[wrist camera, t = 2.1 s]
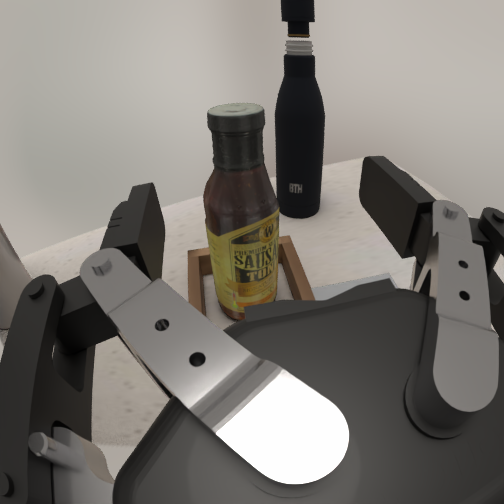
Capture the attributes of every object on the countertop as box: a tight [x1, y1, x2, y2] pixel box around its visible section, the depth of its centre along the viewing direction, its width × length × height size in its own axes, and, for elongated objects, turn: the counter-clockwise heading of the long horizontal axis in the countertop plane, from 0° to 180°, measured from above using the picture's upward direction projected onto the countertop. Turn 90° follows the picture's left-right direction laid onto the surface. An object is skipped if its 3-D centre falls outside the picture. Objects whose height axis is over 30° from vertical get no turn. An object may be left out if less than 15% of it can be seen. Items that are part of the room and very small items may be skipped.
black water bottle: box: [275, 0, 325, 218], centre depth 35 cm, size 6×6×30 cm
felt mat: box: [311, 273, 398, 300], centre depth 30 cm, size 10×9×1 cm
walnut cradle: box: [188, 236, 315, 317], centre depth 32 cm, size 12×11×3 cm
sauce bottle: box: [203, 103, 279, 320], centre depth 26 cm, size 7×6×20 cm
